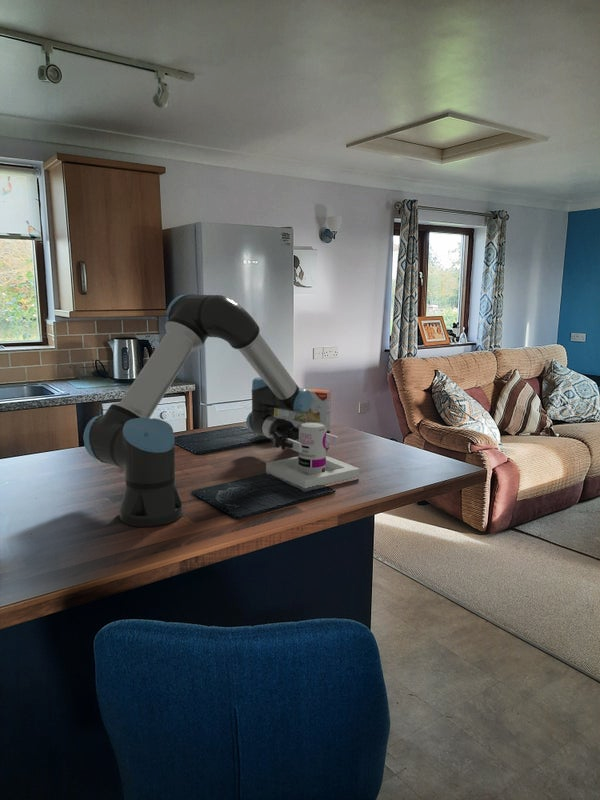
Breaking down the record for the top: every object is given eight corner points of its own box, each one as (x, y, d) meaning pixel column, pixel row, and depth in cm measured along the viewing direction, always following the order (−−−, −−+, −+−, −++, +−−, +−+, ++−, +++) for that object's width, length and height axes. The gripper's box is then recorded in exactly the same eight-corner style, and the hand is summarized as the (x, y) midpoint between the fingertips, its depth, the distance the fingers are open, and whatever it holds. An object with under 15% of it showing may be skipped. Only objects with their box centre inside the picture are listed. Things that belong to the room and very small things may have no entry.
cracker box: (287, 447, 203) (288, 389, 199) (292, 443, 208) (293, 387, 204) (325, 451, 199) (327, 392, 195) (329, 446, 204) (331, 389, 200)
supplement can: (326, 469, 175) (327, 422, 172) (324, 478, 167) (325, 428, 164) (299, 468, 175) (300, 421, 173) (297, 477, 167) (297, 427, 164)
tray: (304, 492, 157) (305, 480, 157) (266, 473, 173) (266, 462, 173) (359, 479, 169) (359, 468, 168) (317, 462, 185) (318, 452, 184)
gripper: (309, 435, 191) (351, 450, 174) (245, 446, 177) (284, 463, 160) (310, 414, 190) (351, 426, 173) (245, 423, 175) (284, 437, 159)
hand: (319, 444), depth 166 cm, fingers open, 13 cm apart
